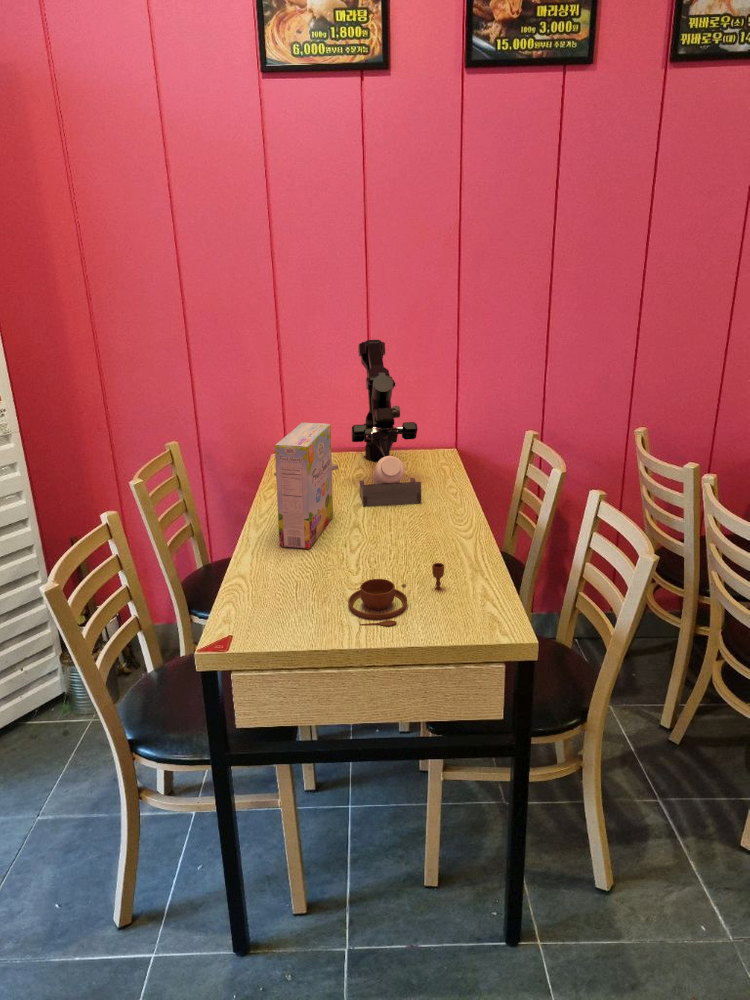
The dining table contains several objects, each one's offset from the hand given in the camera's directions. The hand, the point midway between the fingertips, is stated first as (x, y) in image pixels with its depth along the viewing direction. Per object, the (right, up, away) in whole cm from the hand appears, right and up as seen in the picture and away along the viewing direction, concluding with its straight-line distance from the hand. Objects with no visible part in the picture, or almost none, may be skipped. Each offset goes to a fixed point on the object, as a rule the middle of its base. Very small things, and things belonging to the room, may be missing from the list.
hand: (386, 458), depth 212 cm
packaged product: (-25, -4, +21) cm, 33 cm away
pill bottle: (0, -6, +3) cm, 7 cm away
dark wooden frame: (+1, -11, -2) cm, 11 cm away
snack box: (-20, -20, -24) cm, 37 cm away
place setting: (+1, -34, -60) cm, 69 cm away
